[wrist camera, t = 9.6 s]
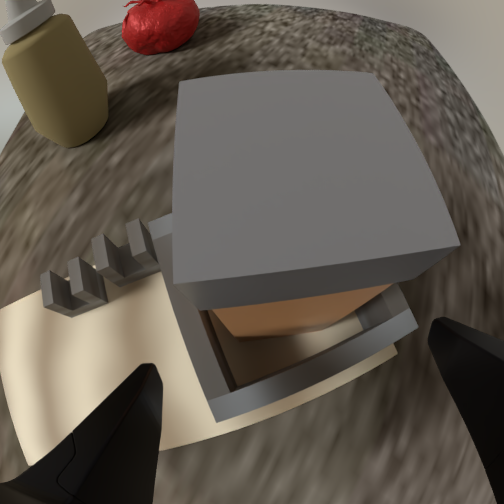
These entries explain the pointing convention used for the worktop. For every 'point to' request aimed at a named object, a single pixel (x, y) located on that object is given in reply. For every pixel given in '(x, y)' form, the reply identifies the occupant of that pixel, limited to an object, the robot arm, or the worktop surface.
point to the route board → (168, 348)
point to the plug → (298, 199)
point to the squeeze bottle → (53, 73)
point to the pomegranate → (159, 25)
